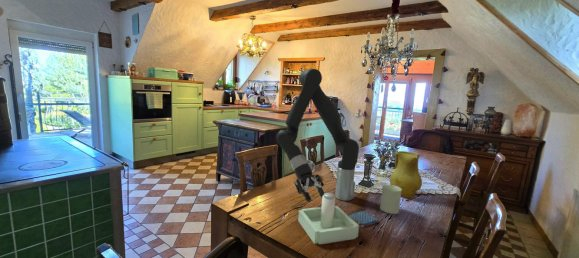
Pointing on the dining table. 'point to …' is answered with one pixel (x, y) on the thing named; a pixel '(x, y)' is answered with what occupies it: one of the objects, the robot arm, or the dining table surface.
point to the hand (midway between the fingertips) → (316, 198)
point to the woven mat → (363, 218)
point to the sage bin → (341, 229)
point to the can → (390, 199)
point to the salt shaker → (327, 211)
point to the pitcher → (406, 173)
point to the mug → (311, 165)
